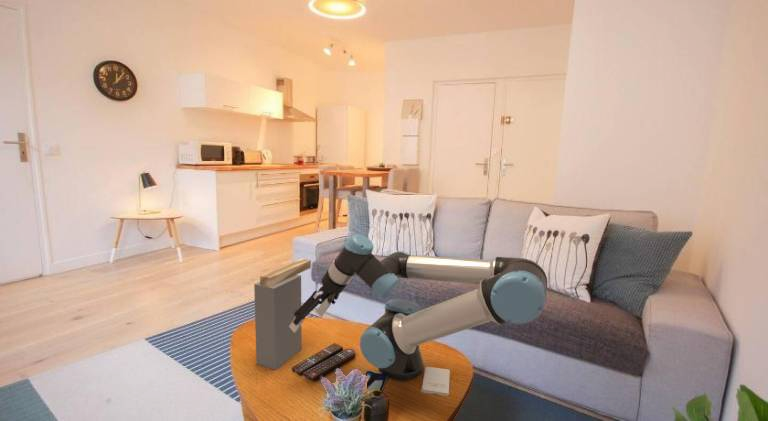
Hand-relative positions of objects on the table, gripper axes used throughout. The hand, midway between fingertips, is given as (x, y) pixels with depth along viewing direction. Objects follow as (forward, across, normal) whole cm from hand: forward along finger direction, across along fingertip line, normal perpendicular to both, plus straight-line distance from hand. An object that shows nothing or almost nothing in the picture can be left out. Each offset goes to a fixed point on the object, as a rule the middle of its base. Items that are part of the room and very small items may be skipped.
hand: (306, 321), depth 123 cm
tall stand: (+19, 0, 0) cm, 19 cm away
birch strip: (-4, -4, -16) cm, 17 cm away
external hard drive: (-10, -13, +43) cm, 46 cm away
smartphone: (-1, 0, +30) cm, 30 cm away
